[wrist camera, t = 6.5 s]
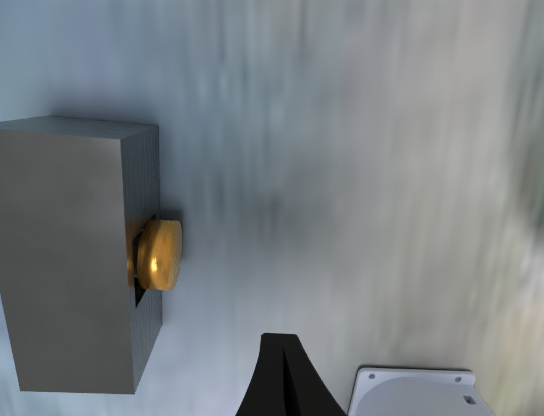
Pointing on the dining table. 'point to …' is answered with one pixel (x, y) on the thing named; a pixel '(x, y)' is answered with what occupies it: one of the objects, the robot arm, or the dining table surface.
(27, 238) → the hitch beam
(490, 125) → the dining table surface
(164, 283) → the lynch pin
